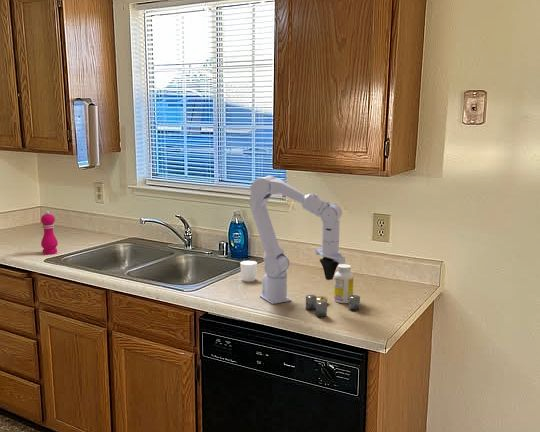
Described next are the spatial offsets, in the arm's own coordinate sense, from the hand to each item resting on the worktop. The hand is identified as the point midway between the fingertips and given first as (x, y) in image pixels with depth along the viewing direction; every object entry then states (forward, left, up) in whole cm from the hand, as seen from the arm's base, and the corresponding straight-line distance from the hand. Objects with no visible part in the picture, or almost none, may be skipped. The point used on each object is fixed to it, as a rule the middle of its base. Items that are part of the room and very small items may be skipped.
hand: (329, 279), depth 187 cm
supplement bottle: (-3, +8, -10) cm, 14 cm away
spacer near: (-1, -6, -10) cm, 12 cm away
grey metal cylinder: (+6, +6, -10) cm, 13 cm away
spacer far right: (+6, -7, -10) cm, 14 cm away
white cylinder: (-41, -10, -10) cm, 43 cm away
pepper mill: (-120, -74, -10) cm, 141 cm away
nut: (-4, 0, -10) cm, 11 cm away
